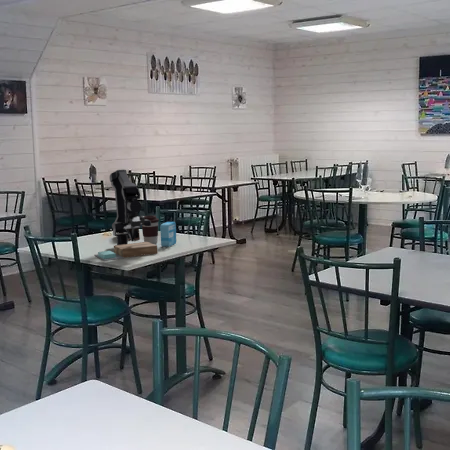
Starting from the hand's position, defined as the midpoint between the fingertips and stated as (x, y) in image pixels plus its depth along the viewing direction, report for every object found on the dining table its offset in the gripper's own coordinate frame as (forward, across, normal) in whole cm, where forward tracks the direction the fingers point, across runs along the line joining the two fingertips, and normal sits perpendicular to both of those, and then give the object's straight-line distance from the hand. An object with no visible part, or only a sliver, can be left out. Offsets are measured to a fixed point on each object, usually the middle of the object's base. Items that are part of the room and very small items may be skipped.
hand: (132, 241), depth 303 cm
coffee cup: (+7, +18, +22) cm, 29 cm away
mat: (+6, -13, 0) cm, 14 cm away
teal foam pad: (+4, -14, -1) cm, 14 cm away
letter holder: (+7, +15, +49) cm, 52 cm away
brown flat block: (+6, +1, 0) cm, 7 cm away
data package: (+7, +24, +11) cm, 28 cm away
